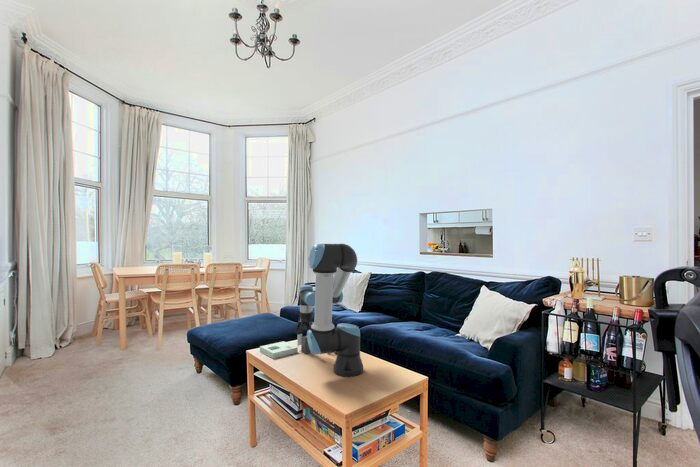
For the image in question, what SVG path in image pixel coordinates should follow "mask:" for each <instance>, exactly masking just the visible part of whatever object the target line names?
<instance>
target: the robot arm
mask: <svg viewBox="0 0 700 467" xmlns="http://www.w3.org/2000/svg"><path fill="white" fill-rule="evenodd" d="M308 265H309V268H310V269H312V272H313V274H315V281H314V282H315V288H313V285H311V284H304V285H303V284H302V285H301V286H300V287H299V317H298V318H297V323H296V327H295V330H294V332H295V333H296V334H297V338H296V339H297V342H296V343H297V347H299V346H301V337H303V331H304V329H306V330H307V332H306V336H307V341H308V345H309V349H310V351H311V354H313V355H324V354H328V353H331V354H333V353H336V352H337V353H336V358H335V361H334V365H333V373H334V374H336V375H338V376H341V377H355V376H359V375H361V374H363V372H364V365H363V360H362V357H361V330H360V328H359V326H358V325H355V324H351V323H344V322H343V323H342V322H341V323H337V325H336V327H335V324H334V323H333V321H332V320H333V304H340V303H342V302H343V299H344V294H343V290H344V288H345V286H346V284H347V281H348V280H349V277H350V275H351V273H352V272H354V271H355V269H356V267H357V265H358V256H357V253H356V251H355V249H353V248H352V247H351V246H350V245H349V244H345V243H316V244H314V245H313V246H312V247H311V249H310V252H309V257H308ZM313 307H314V308H313ZM313 309H314V313H313ZM313 314H314V315H313ZM313 316H314V320H313V321H312V319H313ZM332 352H333V353H332Z"/></svg>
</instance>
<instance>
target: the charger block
mask: <svg viewBox="0 0 700 467" xmlns="http://www.w3.org/2000/svg"><path fill="white" fill-rule="evenodd" d="M300 347H301V353H302V354H305V355H307V354H310V353H311V351H310V349H309V345H308V341H307V335H305V336H303V335H302V337H301V345H300ZM311 354H312V353H311Z"/></svg>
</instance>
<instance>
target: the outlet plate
mask: <svg viewBox="0 0 700 467" xmlns="http://www.w3.org/2000/svg"><path fill="white" fill-rule="evenodd" d="M298 350H299V346H296V345H293V344H290V343H288V342H286V341H279V342H274V343H269V344H266V345H260V346H259V352H260V353H261V354H264V355H265V356H267V357H269V358H271V359H279V358H282V357H285V356H289V355H293V354H297V353H298Z"/></svg>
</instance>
